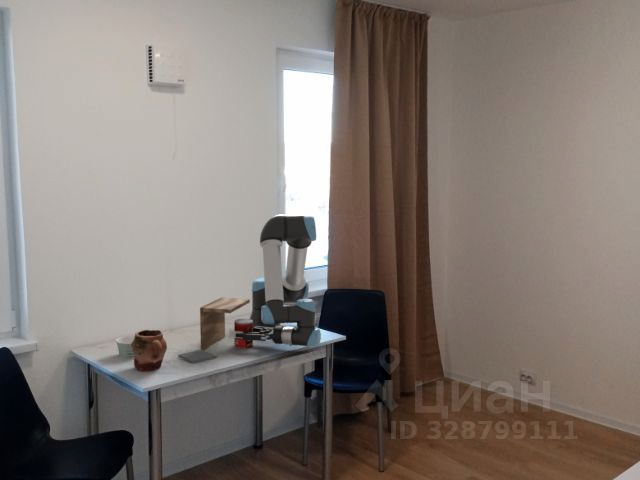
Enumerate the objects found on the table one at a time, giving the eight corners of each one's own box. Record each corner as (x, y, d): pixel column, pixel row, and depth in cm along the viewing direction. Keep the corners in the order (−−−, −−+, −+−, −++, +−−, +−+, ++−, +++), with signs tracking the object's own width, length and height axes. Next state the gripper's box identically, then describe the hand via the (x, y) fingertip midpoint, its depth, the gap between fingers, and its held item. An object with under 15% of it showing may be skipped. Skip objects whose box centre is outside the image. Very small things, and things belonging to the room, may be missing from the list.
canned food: (249, 349, 269) (249, 323, 268) (231, 347, 271) (231, 322, 269) (255, 344, 276) (255, 319, 275) (237, 342, 278) (237, 318, 277)
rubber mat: (201, 351, 265) (201, 349, 264) (216, 357, 256) (216, 355, 256) (178, 357, 257) (178, 354, 257) (192, 363, 249) (192, 360, 249)
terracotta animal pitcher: (179, 371, 240) (178, 334, 238) (149, 378, 231) (148, 340, 229) (150, 359, 254) (150, 325, 252) (122, 366, 245) (121, 330, 243)
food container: (122, 361, 252) (121, 344, 251) (112, 354, 262) (111, 338, 261) (151, 355, 259) (150, 340, 258) (140, 349, 269) (140, 334, 268)
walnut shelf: (200, 350, 267) (200, 307, 265) (221, 336, 289) (221, 297, 287) (230, 352, 264) (230, 309, 262) (250, 338, 285) (249, 299, 283)
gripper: (275, 350, 259) (223, 346, 265) (291, 337, 278) (242, 334, 284) (275, 332, 258) (223, 328, 264) (291, 321, 278) (242, 317, 284)
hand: (233, 331), depth 274 cm, fingers closed on canned food, 8 cm apart
